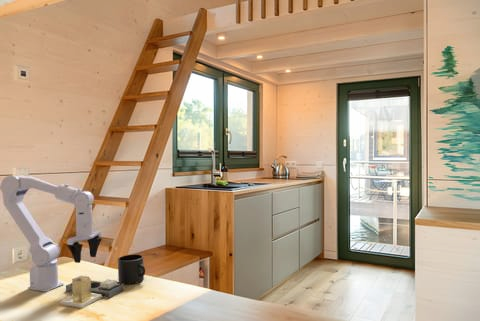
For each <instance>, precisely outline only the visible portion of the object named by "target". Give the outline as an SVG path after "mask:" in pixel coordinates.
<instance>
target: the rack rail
mask: <svg viewBox="0 0 480 321" xmlns="http://www.w3.org/2000/svg"><path fill="white" fill-rule="evenodd" d="M80 277H86V278H90V276H87V275H79V276H76V277H74V278H72V280H71V283H69V284H66V285H65V292H71V293H73V290H72V281H73V280H75V279H78V278H80ZM122 292H124V284H120V283H119V284H118V280H117V279H116V280H115V279H110V278H109V279H106V280H103V281H97V280H91V293H95V294H102V298H109V299H111V298H112V297H114V296H116V295H118V294H120V293H122Z"/></svg>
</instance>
